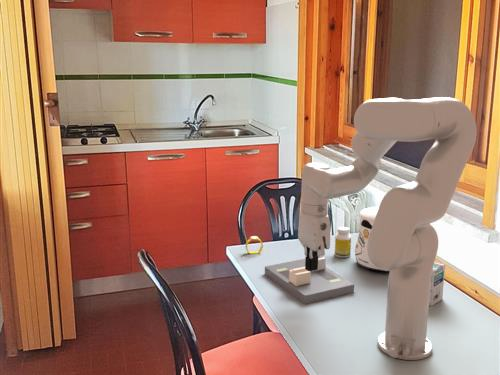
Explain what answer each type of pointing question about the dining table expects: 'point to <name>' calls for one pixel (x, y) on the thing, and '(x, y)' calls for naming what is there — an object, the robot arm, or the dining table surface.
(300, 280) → the cream tab
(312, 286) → the switch panel
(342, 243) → the supplement bottle
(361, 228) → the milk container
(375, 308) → the dining table surface
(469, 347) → the dining table surface
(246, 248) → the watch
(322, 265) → the ridged white block
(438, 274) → the light bulb box
